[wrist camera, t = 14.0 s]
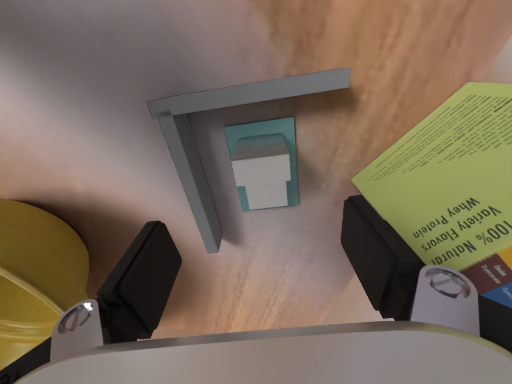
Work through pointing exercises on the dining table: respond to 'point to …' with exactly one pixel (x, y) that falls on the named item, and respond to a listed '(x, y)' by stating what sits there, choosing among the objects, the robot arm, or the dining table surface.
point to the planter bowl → (36, 276)
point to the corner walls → (177, 107)
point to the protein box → (454, 187)
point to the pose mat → (261, 129)
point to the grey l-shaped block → (262, 169)
